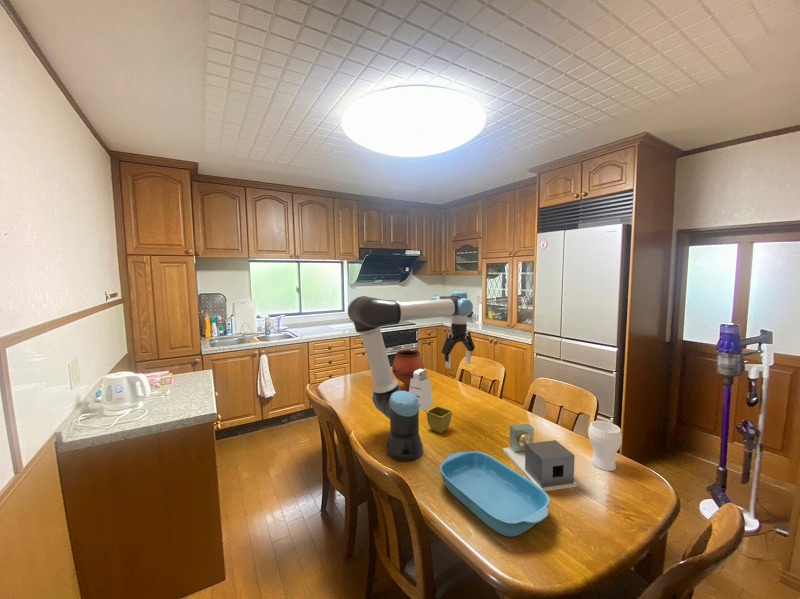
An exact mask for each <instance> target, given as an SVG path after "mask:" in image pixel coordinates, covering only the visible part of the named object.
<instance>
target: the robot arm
mask: <svg viewBox="0 0 800 599" xmlns="http://www.w3.org/2000/svg"><path fill="white" fill-rule="evenodd" d="M473 306H474V305H473V303H472V301H471V299H468V293H467V292H466V291H461V290H459V291H452V292H451V295H445V296H444V295H440V296H439V295H437V296H433V297H431V298H430V299H428V300H427V299H426V300H413V301H398V300H396V299H383V298H382V299H381V298H377V297H371V296H366V295H362V296H361V295H359V296H356V297H355V298H353V299H351V301H350V302H349V304H348V306H347V315H348V317H349V319H350V320H351V322H352V323H353V325H354V329H355V332H356V333H358V334H359V335H360V338H361V340H362V344H363V347H364V351H365V354H366V358H367V362H368V364H369V366H368V367H369V368H370V369H369V370H370V372H371V376H372V380H373V383H374V385H373V387H372V389H371V390H372V394H371V396H372V398H371V399H372V404H373V405H374V406H375V408H376V409H377V410H378V411H379V412H380V413H382V414H383V415H384V416H385V417H386V418H387V419H389V425H390V426H389V428H390V430H389V431H390V432H389V437H388V439H387V442H386V447H385V448H386V449H385V452H386V455H387V456H388V457H389V458H390V459H391V460H394V461H398V462H412V461H416V460H417V459H419V458H420V457H422V456H423V453H424V443H423V442H422V440H421V436H420V432H419V431H420V430H419V427H420V426H419V425H420V424H419V423H420V422H419V420H420V419H419V416H420V411H419V406H420V405H419V404H418V398H417V397H416V395H414V394H413V393H411V392H407V391H401V389H400V384H399V382H398V381H399V380H398V379H395V378H394V376H393V375H394V374H393V371H392V367H391V365H390V360H389V357H388V354H387V349H386V345H385V342H384V341H385V340H384V339H383V335H382V331H381V328H382V327H387V326H393V325H399V324H400V322H406V321H415V320H416V321H417V320H425V319H436V318H443V317H451V319H450V321H451V324H450V330H451V333H447V334H446V339H445V341H444V344H443V346H442V348H441V352H440V353H441V354H443V355H444V362H445V368H446V369H448V370H449V369H451V364H452V363H451V359H452V358H451V357H452V356H451V352H452V351H453V349H454V347H455V345H456V344H458V343H462V344H463V345H464V347H465V348H466V350H465V364H468V365H471V364H472V362H471V361H472V352H474V350H475V349H476V348H475V344H474V341H473V338H472V336H471V334H472V333H471V331H468V330H467V329H468V328H467V327H468V324H467V323H468V316H469V315H471V314H472V312H473V310H474V309H473V308H474V307H473Z"/></svg>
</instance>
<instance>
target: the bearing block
mask: <svg viewBox="0 0 800 599" xmlns="http://www.w3.org/2000/svg"><path fill="white" fill-rule="evenodd" d="M525 470H526V472H527V473H528V474H529V475H530V476H531V477H532V478H533V479H534V480H535V481H536V482H537V484H538V485H539V486H540V487H541V488H544V487H551V486H558V485H566V484H573V483H574V482H575V481H574V480H575V478H574V477H575V454H573V453H572V451H570V450H569V449H567V448H566V447H565V446H563V445H562V444H561V443H560V442H558V441H557V440H556V439H555V440H546V441H544V440H543V441H535V442H534V443H526V445H525Z"/></svg>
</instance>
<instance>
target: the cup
mask: <svg viewBox="0 0 800 599" xmlns="http://www.w3.org/2000/svg"><path fill="white" fill-rule="evenodd" d="M587 432H588V434H587V435H588V439H589V442H590V444H591V446H592V450H593V451H592V452H593V454H592V458H591V464H592V465H593V466H594V467H596V468H598V469H599V470H601V471H607V472H612V471H615V470H616V469H617V465H616V459H615V458H616V453H617V452H618V451H619V449H620V448H621V445H622V443H623V434H622V430H621V428H620V427H619V426H618V425H617V424H614V423H612V422H609V421H604V420H594V421H591V422H590V424H589V427H588V429H587Z"/></svg>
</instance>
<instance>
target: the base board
mask: <svg viewBox="0 0 800 599" xmlns="http://www.w3.org/2000/svg"><path fill="white" fill-rule="evenodd" d="M502 451H503V452H502V453H504V454H505V455H506V456H507V457H508V458H509V459H510V461H511V462H512V463H513V464H514V465H515V467H517V468H518V470H520V472H521V474H523V476H524V477H525V478H527V479H528V480H530V481H531V482H533V483H534V484H536V485H537V486H539V485H538V484H537V482H536V481H535V480H534V479H533V478H532V477H531V476H530V475H529V474H528V473H527V472H526V470H525V451H519V452H514V451H513V449H512V448H511V447H510V446H509V447H503V448H502ZM539 487H540V486H539ZM577 487H578V483H577V482H576V481H574V483H573V484H566V485H558V486H551V487H544V488H541V487H540V488H541V489H542V490H544V491H545V492H549V491H556V490H563V489H565V490H566V489H572V488H577Z"/></svg>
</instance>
